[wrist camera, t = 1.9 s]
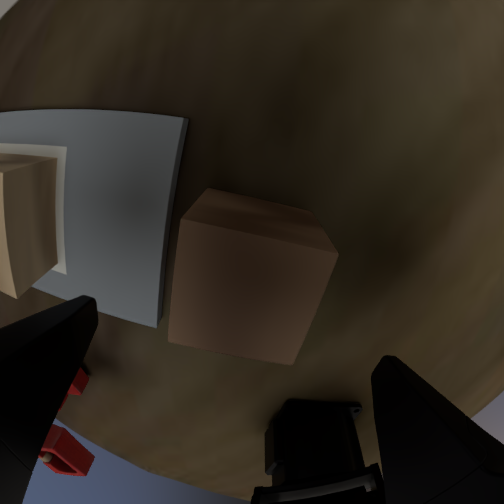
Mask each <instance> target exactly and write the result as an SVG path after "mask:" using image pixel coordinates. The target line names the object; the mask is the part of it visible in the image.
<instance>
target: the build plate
mask: <svg viewBox="0 0 504 504" xmlns="http://www.w3.org/2000/svg"><path fill="white" fill-rule="evenodd" d="M188 121H189V119H187V118H181V117H173V116H166V115H157V114H148V113H138V112H126V111H111V110H87V109H49V110H26V111H13V112H2V113H0V153H7V154H21V155H34V156H45V157H55V158H57V171H56V199H55V214H56V242H57V256H58V264H56V265H55V266H54V267H53V268H52V269H50V270H49V271H48V272H47V273H46V274H45V275H43V276H42V277H41V278H40V279H39V280H38V281H36V282H35V283H34V284H33V285H32V287H34V288H37V289H39V290H42V291H44V292H47V293H49V294H52V295H54V296H57V297H60V298H62V299H65V300H68V301H69V300H71V299H74V298H76V297H79V296H81V295H87V296H90V297H93V298H95V299H96V302H97V311H100V312H103V313H106V314H109V315H112V316H116V317H119V318H122V319H126V320H129V321H132V322H136V323H139V324H143V325H146V326H150V327H154V328H157V326H158V324H159V322H160V320H161V316H162V301H163V289H164V277H165V267H166V257H167V248H168V240H169V232H170V224H171V217H172V210H173V203H174V197H175V190H176V184H177V178H178V172H179V167H180V161H181V156H182V151H183V145H184V140H185V136H186V131H187V126H188Z"/></svg>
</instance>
